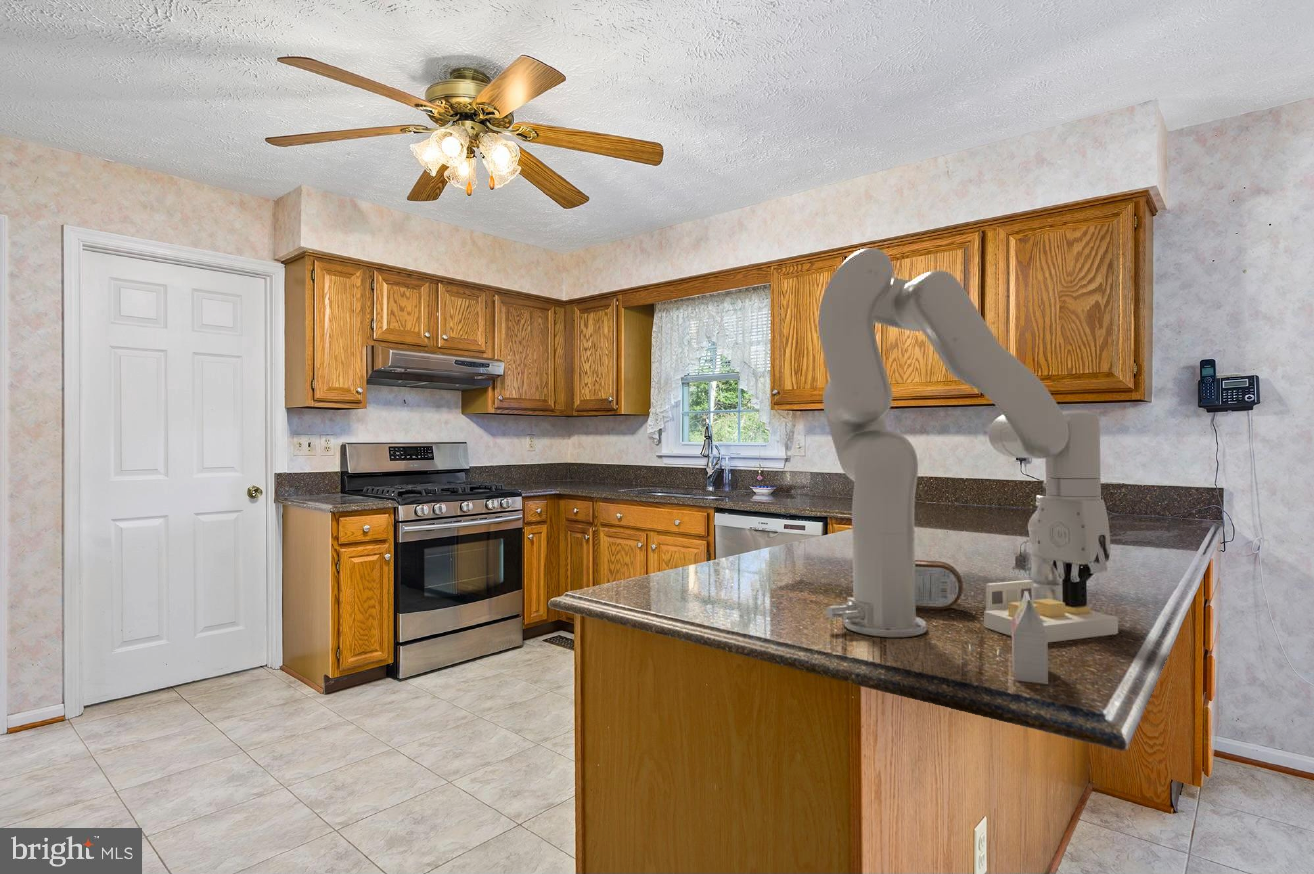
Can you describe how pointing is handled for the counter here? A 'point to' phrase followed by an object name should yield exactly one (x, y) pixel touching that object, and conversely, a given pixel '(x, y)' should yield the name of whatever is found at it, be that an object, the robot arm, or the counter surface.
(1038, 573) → the plastic bottle
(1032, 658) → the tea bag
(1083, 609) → the button far
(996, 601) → the card
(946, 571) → the tin
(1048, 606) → the button mid
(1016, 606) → the button near
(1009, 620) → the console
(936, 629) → the counter surface
